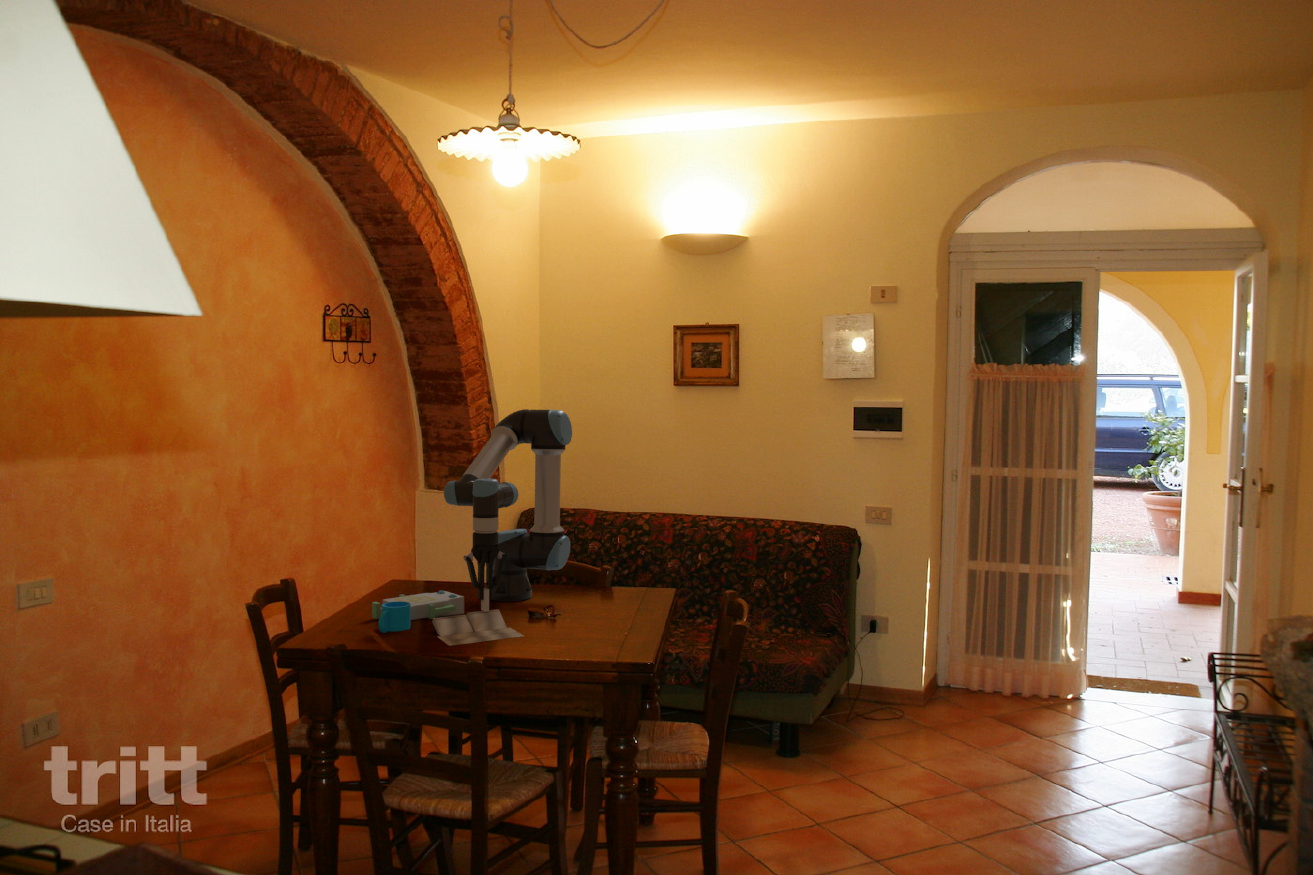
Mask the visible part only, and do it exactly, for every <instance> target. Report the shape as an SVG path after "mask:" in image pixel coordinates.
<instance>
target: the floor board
mask: <svg viewBox="0 0 1313 875" xmlns="http://www.w3.org/2000/svg"><path fill="white" fill-rule="evenodd" d="M520 637H525V635H524V634H522V633H520V632H519V631H517V630H515V629H514V628H512V627H507V628H501V629H493V630H485V631H477V632H475V631H474V632H469V633H460V634H452V635H444V636H440V635H438V636H437V638H438V639H440V640H441V641H442V642H444V643H445V644H446V645H447V646H458V645H459V646H460V645H466V644H467V645H468V644H473V643H483V642H488V641H489V642H490V641H495V640H496V641H498V640H504V639H505V640H506V639H514V638H520Z"/></svg>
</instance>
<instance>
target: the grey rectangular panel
mask: <svg viewBox="0 0 1313 875" xmlns="http://www.w3.org/2000/svg"><path fill="white" fill-rule="evenodd" d="M466 617H467V619H468V621H469V623H470V625H471V627H472V629H473V631H474V632H478V631H486V630H494V629H502V628H508V627H507V624H506V623H505V620H504V618H503V616H502V614H501V611H500V609H489V611H486V612H484V611H482V610H481V611H480V610H479V611H472V612H471V611H470V612H467V613H466Z"/></svg>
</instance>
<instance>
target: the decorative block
mask: <svg viewBox="0 0 1313 875" xmlns="http://www.w3.org/2000/svg"><path fill="white" fill-rule="evenodd" d="M396 601H402V602H409V603H410V604H411V621H413V620H420V619H427V618H428V619H430V620H433V618H439V617H448V616H457V615H465V596H464V595H459V594H456V593H453V592H451V591H450V592H449V591H446V590H438V591H437V592H423V593H417V594H410V595H405V594H403V593H402V594H399V595H398V597H391V598H390V597H389V598H385V599H382V604H384V603H388V602H396ZM382 604H381V603H380V602H378V601H373V602H371V618H373V619H375V620H379V619H380V616H381V615H382Z"/></svg>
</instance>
